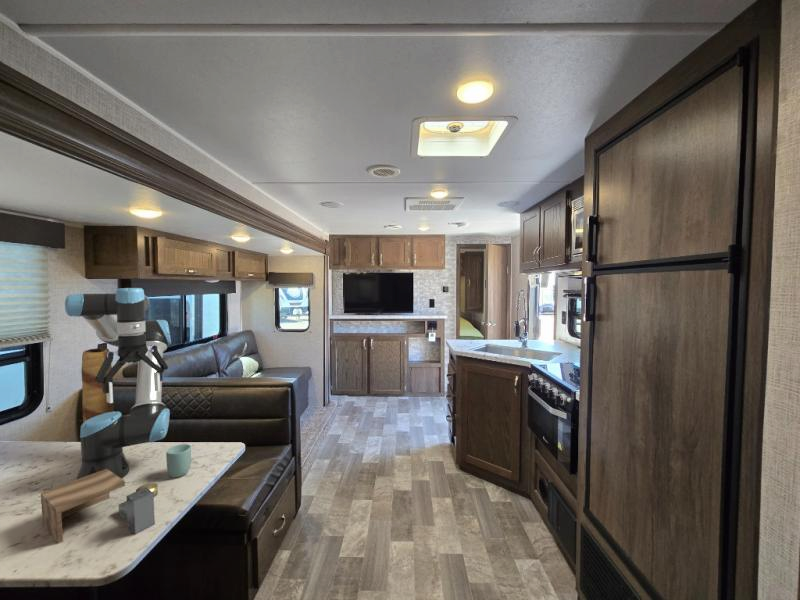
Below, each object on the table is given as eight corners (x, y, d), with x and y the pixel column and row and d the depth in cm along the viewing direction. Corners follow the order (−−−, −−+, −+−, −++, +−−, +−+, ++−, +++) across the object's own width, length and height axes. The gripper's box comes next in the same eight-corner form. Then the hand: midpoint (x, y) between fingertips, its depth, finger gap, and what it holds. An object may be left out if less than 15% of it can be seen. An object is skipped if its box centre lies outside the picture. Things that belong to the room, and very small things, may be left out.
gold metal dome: (133, 497, 118) (132, 489, 118) (153, 489, 123) (152, 480, 123) (140, 504, 115) (140, 495, 115) (161, 494, 120) (160, 486, 120)
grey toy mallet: (114, 516, 109) (112, 485, 108) (132, 507, 113) (131, 477, 113) (135, 534, 101) (133, 501, 100) (154, 524, 105) (153, 492, 105)
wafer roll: (118, 446, 154) (113, 346, 151) (114, 457, 145) (108, 350, 142) (88, 452, 149) (82, 348, 146) (80, 463, 140) (74, 353, 137)
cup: (174, 469, 136) (173, 444, 135) (195, 468, 137) (194, 443, 136) (162, 480, 128) (161, 454, 128) (184, 479, 129) (183, 453, 128)
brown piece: (42, 525, 105) (40, 493, 104) (108, 496, 119) (106, 468, 118) (58, 543, 98) (56, 509, 97) (126, 511, 111) (124, 481, 111)
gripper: (88, 340, 104) (91, 410, 105) (177, 330, 125) (179, 388, 126) (79, 338, 107) (82, 405, 109) (167, 328, 129) (169, 384, 130)
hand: (134, 396), depth 117 cm, fingers open, 13 cm apart
